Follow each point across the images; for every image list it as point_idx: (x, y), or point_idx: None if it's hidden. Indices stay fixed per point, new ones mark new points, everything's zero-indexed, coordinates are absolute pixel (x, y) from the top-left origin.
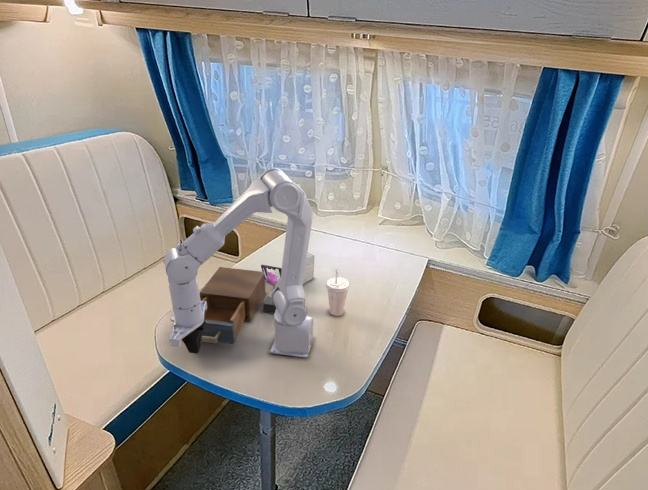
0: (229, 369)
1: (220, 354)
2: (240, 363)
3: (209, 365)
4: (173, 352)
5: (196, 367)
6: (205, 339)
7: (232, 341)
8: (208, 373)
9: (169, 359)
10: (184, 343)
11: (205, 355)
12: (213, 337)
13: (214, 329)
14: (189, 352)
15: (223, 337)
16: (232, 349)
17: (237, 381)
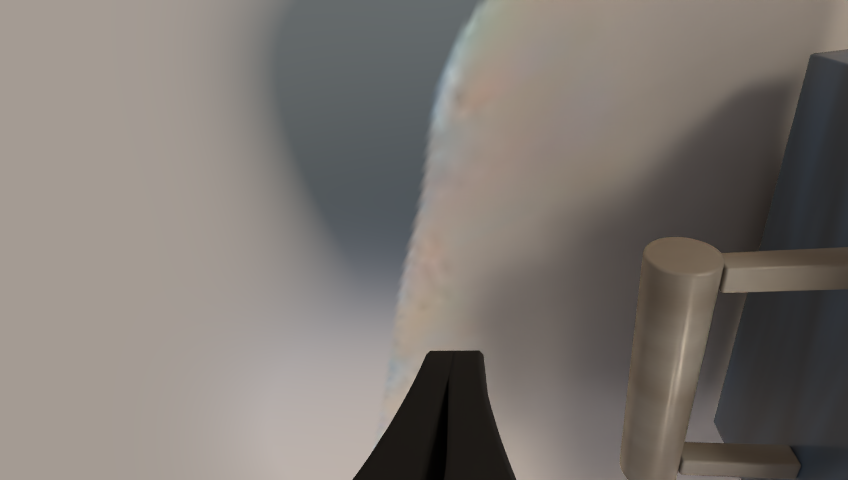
0: (496, 422)
1: (620, 353)
2: (557, 451)
3: (499, 332)
4: (587, 11)
5: (458, 274)
6: (635, 415)
7: (725, 442)
8: (432, 350)
9: (482, 37)
10: (375, 452)
11: (593, 278)
12: (661, 474)
13: (820, 439)
14: (425, 357)
15: (754, 420)
16: None
17: None
